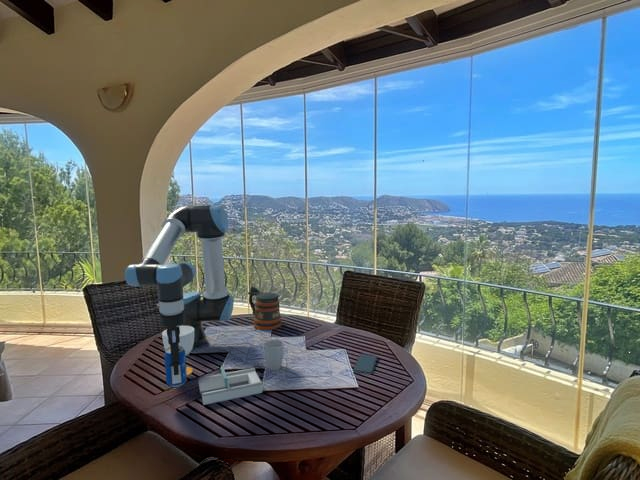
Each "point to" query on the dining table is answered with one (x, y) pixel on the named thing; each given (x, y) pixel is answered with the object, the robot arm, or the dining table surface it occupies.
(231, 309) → the robot arm
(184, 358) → the beverage can
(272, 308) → the beer stein
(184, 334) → the cup
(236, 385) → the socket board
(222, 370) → the shutter
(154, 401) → the dining table surface
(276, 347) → the cup
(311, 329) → the dining table surface
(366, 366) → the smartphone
